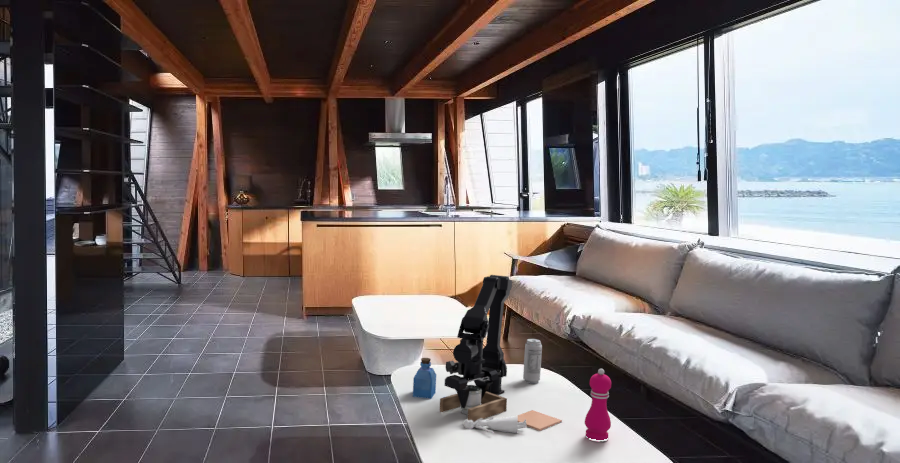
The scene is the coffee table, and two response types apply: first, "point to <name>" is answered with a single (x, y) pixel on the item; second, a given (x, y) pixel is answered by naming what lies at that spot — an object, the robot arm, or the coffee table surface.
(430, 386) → the perfume bottle
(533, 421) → the terracotta coaster
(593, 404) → the pepper mill
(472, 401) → the camera lens
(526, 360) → the energy drink can
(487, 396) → the frame
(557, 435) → the coffee table surface
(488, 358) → the robot arm
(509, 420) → the woman figurine
